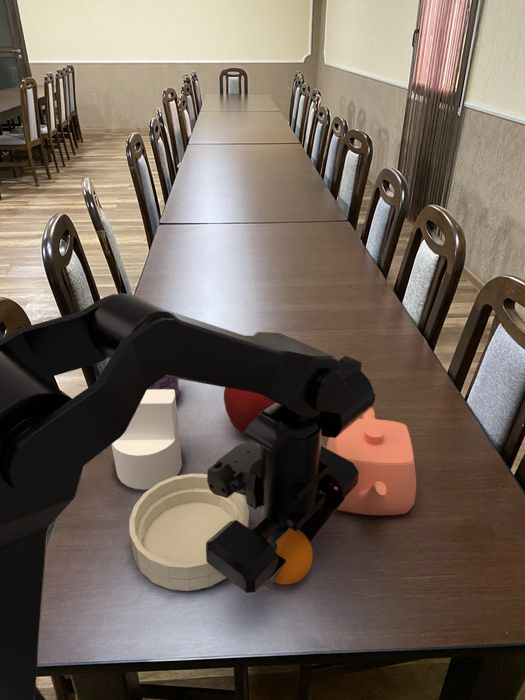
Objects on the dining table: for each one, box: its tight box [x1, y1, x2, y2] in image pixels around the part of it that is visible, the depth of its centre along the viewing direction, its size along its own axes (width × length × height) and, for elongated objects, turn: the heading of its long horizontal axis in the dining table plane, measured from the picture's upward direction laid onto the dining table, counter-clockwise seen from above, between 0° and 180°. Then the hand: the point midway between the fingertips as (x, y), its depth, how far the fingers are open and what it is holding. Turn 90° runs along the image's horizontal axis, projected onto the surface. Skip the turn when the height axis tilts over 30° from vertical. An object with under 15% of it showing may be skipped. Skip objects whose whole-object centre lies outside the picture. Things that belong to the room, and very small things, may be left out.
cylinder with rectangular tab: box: [110, 389, 183, 490], centre depth 72 cm, size 9×9×12 cm
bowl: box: [128, 472, 251, 592], centre depth 63 cm, size 14×14×4 cm
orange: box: [273, 529, 314, 585], centre depth 59 cm, size 6×6×6 cm
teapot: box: [325, 406, 417, 516], centre depth 68 cm, size 12×18×10 cm, turn 175°
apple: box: [223, 387, 276, 434], centre depth 80 cm, size 10×10×10 cm
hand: (285, 562), depth 60 cm, fingers open, 7 cm apart
